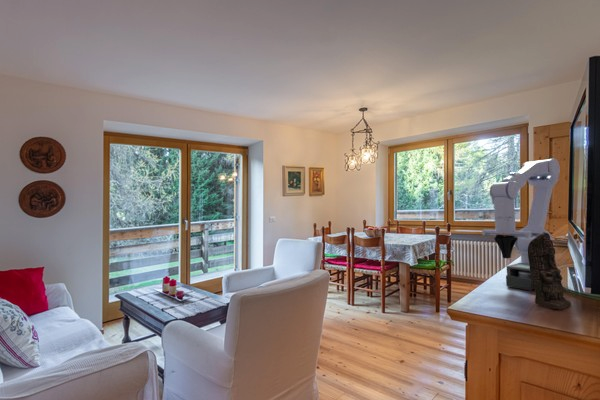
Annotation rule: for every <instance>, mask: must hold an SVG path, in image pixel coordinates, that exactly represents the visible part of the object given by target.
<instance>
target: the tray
mask: <svg viewBox="0 0 600 400" xmlns="http://www.w3.org/2000/svg"><path fill="white" fill-rule="evenodd" d="M505 280H506V281H505V284H506V287H508V288H509V287H510V288H515V289H520V290H525V291H533V290H535V289H534V287H533V283H532V279H529V278H523V277H517V276H511V275H507V274H506V275H505Z"/></svg>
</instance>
